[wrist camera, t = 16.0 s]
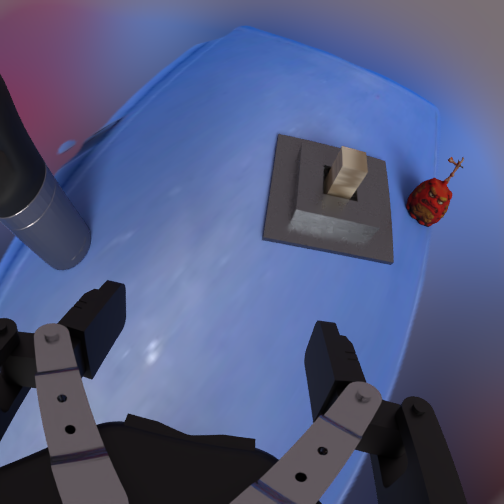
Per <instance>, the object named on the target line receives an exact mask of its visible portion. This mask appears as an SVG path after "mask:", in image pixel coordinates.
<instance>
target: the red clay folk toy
mask: <svg viewBox="0 0 504 504" xmlns="http://www.w3.org/2000/svg"><path fill="white" fill-rule="evenodd" d="M463 159H464V158H462V161H461V162H459V161H458V163H455V162H454V161H453V158H452V157H451V158H449V159H448V161H449V162H450V163H453V164H454V165H456V167H455V169H454V171H453V172H452V173H451V174H450V176H449V177H448V178H447V179H445V180H444V181H441V180H438V179H436V178H433V179H430V180H426V181H424V182H422V183H421V184H420V185H418V186H417V187H416V188H415V189H414V191H413V192H412V193H411V194H410V195H409V197H408V200H407V204H406V208H407V210H408V211H409V213H410V215H411V217H412V218H414V219H417V220H418V222H419V224H421V225H424V226H426V227H429V226H431V225H432V224H434V223H437V222H438V221H439V220H440V219H441V218H442V217H443V216H444V215H445V213H446V212H447V209H448V206H449V203H450V199H451V198H452V192H451V191H450V190H449V189H448V187H447V184H448V182H449V180H450V178H451V177H453V176H454V173H455V172H456V170H457V169H458V168H459V167H462V166H461V163H462V162H463ZM462 168H463V167H462Z"/></svg>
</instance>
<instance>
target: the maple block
mask: <svg viewBox="0 0 504 504" xmlns="http://www.w3.org/2000/svg"><path fill="white" fill-rule="evenodd" d="M367 173H368V168H367V158H366V152H362V151H358V150H355V149H351V148H347V147H344V146H342V147H341V149H340V151H339V153H338V155H337V157H336V159H335V161H334V163H333V165H332V167H331V169H330V171H329V173H328V175H327V177H326V179H325V180H324V194H327V195H331V196H336V197H340V198H344V199H348V200H350V198H351V197H352V195H353V194H354V192H355V191H356V189H357V188H358V186H359V185H360V183H361V182H362V180H363V179H364V177H365V176H366V174H367Z"/></svg>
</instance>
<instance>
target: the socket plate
mask: <svg viewBox="0 0 504 504" xmlns="http://www.w3.org/2000/svg"><path fill="white" fill-rule="evenodd" d="M340 149H341V148H337V147H333V146H329V145H325V144H321V143H317V142H313V141H309V140H304V139H300V138H295V137H291V136H286V135H281V134H279V135H278V139H277V146H276V153H275V160H274V166H273V173H272V180H271V187H270V193H269V200H268V207H267V213H266V220H265V226H264V233H263V240H265V241H270V242H276V243H281V244H286V245H292V246H297V247H302V248H307V249H313V250H318V251H323V252H328V253H333V254H338V255H344V256H349V257H354V258H359V259H364V260H369V261H374V262H379V263H384V264H389V265H391V264H392V263H394V262H393V238H392V222H391V209H390V198H389V188H388V179H387V171H386V163H385V161H383V160H380V159H376V158H373V157H370V156H366V158H367V168H368V173H367V174H366V176H365V177H364V179H363V180H362V182H361V183H360V185H359V186H358V188H357V189H356V191H355V192H354V194H353V195H352V197H351V198H350V200H348V199H344V198H340V197H336V196H331V195H327V194H324V180H325V179H326V177H327V175H328V173H329V171H330V169H331V167H332V165H333V163H334V161H335V159H336V157H337V155H338V153H339V151H340Z"/></svg>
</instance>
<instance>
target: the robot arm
mask: <svg viewBox="0 0 504 504" xmlns="http://www.w3.org/2000/svg"><path fill="white" fill-rule="evenodd" d="M0 222H1V223H2V224H3V225H4V226H5V227H7V228H8V229H9V230H10V231H11V232H12V233H13V234H14V235H15V236H16V237H17V238H19V239H20V240H21V241H22V242H23V243H24V244H25V245H26V246H28V247H29V248H30V249H31V250H32V251H33V252H34V253H36V254H37V255H38V256H39V257H40V258H41V259H43V260H44V261H45V262H46V263H47V264H49V265H50V266H51V267H53V268H55V269H57V270H66V269H70V268H72V267H74V266H76V265H77V264H78V263H79V262H81V261H82V260H83V258H84V257H85V255H86V254H87V252H88V250H89V246H90V241H91V236H90V231H89V228H88V226H87V225H86V223H85V222H84V221H83V219H82V218H81V216H80V215H79V213H78V212H77V210H76V209H75V208H74V206H73V205H72V203H71V202H70V200H69V199H68V197H67V196H66V194H65V193H64V191H63V190H62V188H61V187H60V185H59V184H58V182H57V181H56V179H55V177H54V176H53V175H52V173H51V171H50V170H49V168H48V167H47V165H46V163H45V162H44V160H43V158H42V157H41V155H40V154H39V152H38V150H37V149H36V147H35V145H34V143H33V142H32V140H31V138H30V137H29V135H28V133H27V131H26V129H25V128H24V125H23V123H22V121H21V119H20V117H19V115H18V112H17V110H16V108H15V105H14V103H13V101H12V98H11V96H10V93H9V91H8V89H7V86H6V84H5V82H4V80H3V78H2V77H1V75H0ZM125 320H126V288H125V285H124V284H122V283H118V282H114V281H109V280H107V281H106V282H105V283H104V284H103V285H102V286H101V287H100V288H99V290H98V289H93V290H91V291H89V292H87V293H85V294H84V295H83V296H82V297H81V298H80V299H79V301H77V302H76V304H75V305H74V307H72V308H71V309H70V310H69V311H68V312H67V313H66V315H65V316H64V317H63V318H62V319H61V320H60V321H59V322H58V323H57V324H55V323H52V324H46V325H43V326H41V327H39V328H38V329H37V330H36V332H35V333H26V332H18V329H17V326H16V323H15V322H14V321H13V320H11V319H7V318H0V441H1V439H2V437H3V435H4V434H5V432H6V430H7V428H8V426H9V425H10V423H11V421H12V419H13V417H14V416H15V414H16V412H17V410H18V409H19V407H20V405H21V404H22V402H23V400H24V399H25V397H26V395H27V394H28V392H29V390H30V389H31V387H32V388H37V395H38V401H39V407H40V412H41V418H42V423H43V428H44V432H45V437H46V441H47V445H48V448H45V449H43V450H41V451H38V452H36V453H34V454H31V455H29V456H27V457H24V458H22V459H20V460H17V461H15V462H12V463H10V464H7V465H5V466H2V467H0V504H322V503H321V502H320V501H319V499H320V498H321V496H322V495H323V494H324V492H325V491H326V490H327V488H328V487H329V486H330V484H331V483H332V482H333V480H334V479H335V477H336V476H337V475H338V473H339V472H340V470H341V469H342V468H343V466H344V465H345V463H346V462H347V460H348V459H349V457H350V456H351V454H352V453H353V451H354V450H359V451H363V452H367V453H370V457H371V463H372V468H373V474H374V480H375V486H376V492H377V499H378V504H467V502H466V498H465V495H464V492H463V489H462V486H461V483H460V480H459V477H458V474H457V471H456V468H455V465H454V462H453V459H452V457H451V454H450V451H449V449H448V446H447V443H446V440H445V438H444V435H443V433H442V430H441V428H440V425H439V423H438V420H437V418H436V415H435V413H434V410H433V408H432V407H431V405H430V404H429V403H428V402H427V401H425V400H424V399H422V398H419V397H414V396H413V397H408V398H406V399H404V401H403V402H402V404H401V405H399V404H396V403H391V402H388V401H385V400H382V397H381V394H380V392H379V391H378V390H377V389H376V388H375V387H374V386H372V385H370V384H368V383H366V380H365V377H364V374H363V372H362V369H361V366H360V363H359V361H358V358H357V355H356V354H355V353H356V352H355V350H354V347H353V344H352V343H351V342H350V341H349V340H348V339H347V337H346V336H342V335H340V334H339V331H338V329H337V326H336V324H335V323H332V322H325V321H317V322H316V324H315V326H314V329H313V332H312V335H311V338H310V340H309V343H308V346H307V349H306V352H305V359H304V363H305V370H306V376H307V383H308V390H309V396H310V403H311V410H312V417H313V424H312V425H311V427H310V428H309V429H308V430H307V431H306V432H305V433H304V434H303V436H302V437H301V438H300V439H299V440H298V441H297V442H296V443H295V444H294V445H293V446H292V447H291V448H290V449H289V451H288V452H287V453H286V454H285V455H284V456H283V457H282V458H281V459H280V460H278V459H277V458H275V457H274V456H272V455H271V454H269V453H267V452H265V451H262V450H260V449H257V448H255V439H251V438H243V437H236V436H229V435H187V434H184V433H182V432H180V431H177V430H175V429H173V428H171V427H169V426H166V425H164V424H162V423H160V422H158V421H154V420H150V419H146V418H142V417H139V416H135V415H132V414H128V415H127V417H126V420H125V422H122V421H117V422H106V423H102V424H98V425H96V423H95V420H94V417H93V415H92V412H91V409H90V406H89V403H88V400H87V396H86V393H85V390H84V387H83V383H82V380H81V378H82V377H86V378H89V379H93V378H94V376H95V374H96V372H97V371H98V369H99V367H100V366H101V364H102V362H103V361H104V359H105V357H106V356H107V354H108V352H109V351H110V349H111V347H112V346H113V344H114V342H115V341H116V339H117V338H118V336H119V334H120V333H121V331H122V329H123V327H124V325H125Z"/></svg>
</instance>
